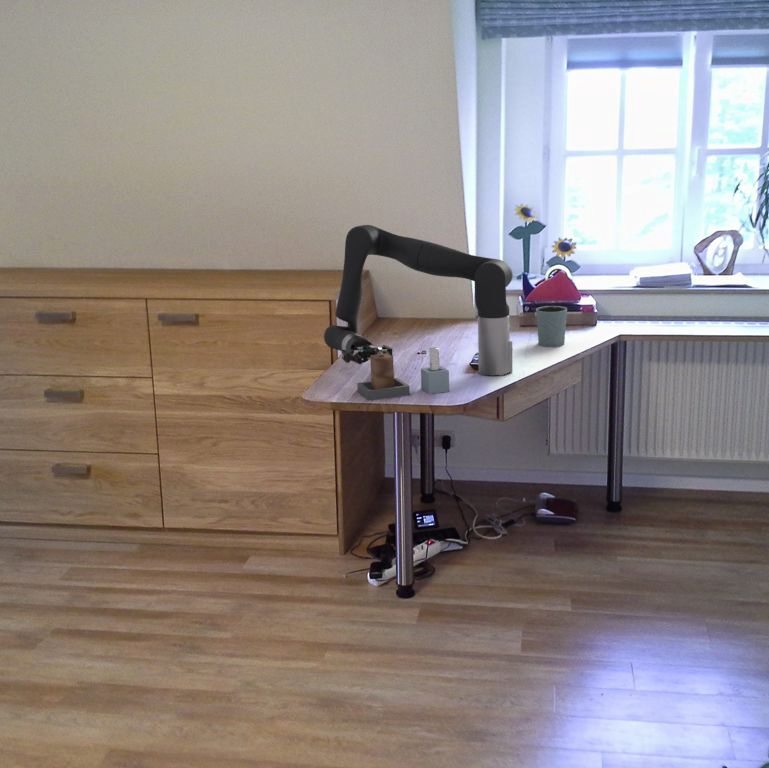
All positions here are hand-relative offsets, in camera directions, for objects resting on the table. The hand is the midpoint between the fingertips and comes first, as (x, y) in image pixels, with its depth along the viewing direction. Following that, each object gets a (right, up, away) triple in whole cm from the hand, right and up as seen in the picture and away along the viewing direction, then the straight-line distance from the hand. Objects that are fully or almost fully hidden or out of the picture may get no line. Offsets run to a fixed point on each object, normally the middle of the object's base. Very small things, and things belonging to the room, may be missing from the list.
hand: (375, 359), depth 261 cm
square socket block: (+17, -9, -2) cm, 19 cm away
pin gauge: (+17, -9, -2) cm, 19 cm away
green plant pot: (+58, +6, +47) cm, 75 cm away
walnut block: (+2, -9, -3) cm, 10 cm away
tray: (+2, -10, -3) cm, 10 cm away
